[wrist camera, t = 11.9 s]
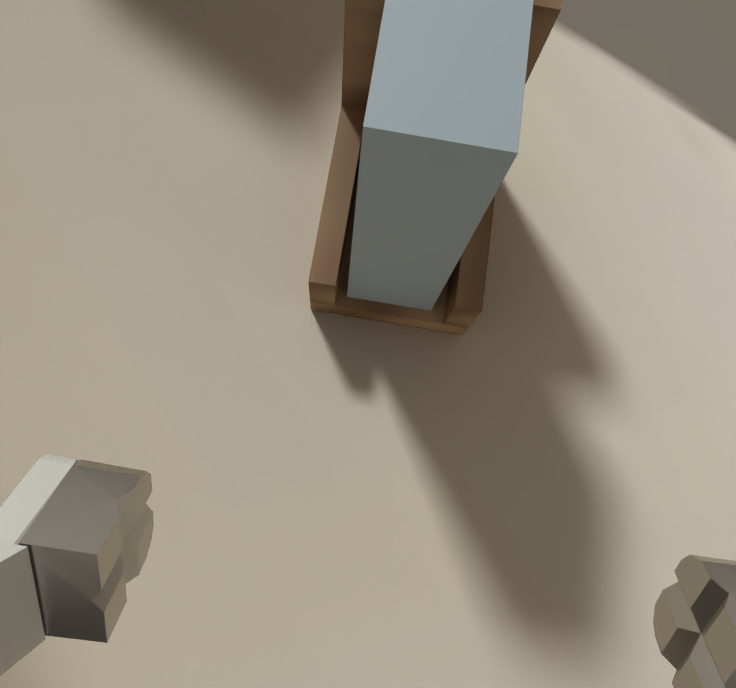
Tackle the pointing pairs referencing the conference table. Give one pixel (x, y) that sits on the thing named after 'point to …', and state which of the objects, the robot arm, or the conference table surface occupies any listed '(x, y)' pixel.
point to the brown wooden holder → (338, 210)
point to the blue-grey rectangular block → (434, 140)
